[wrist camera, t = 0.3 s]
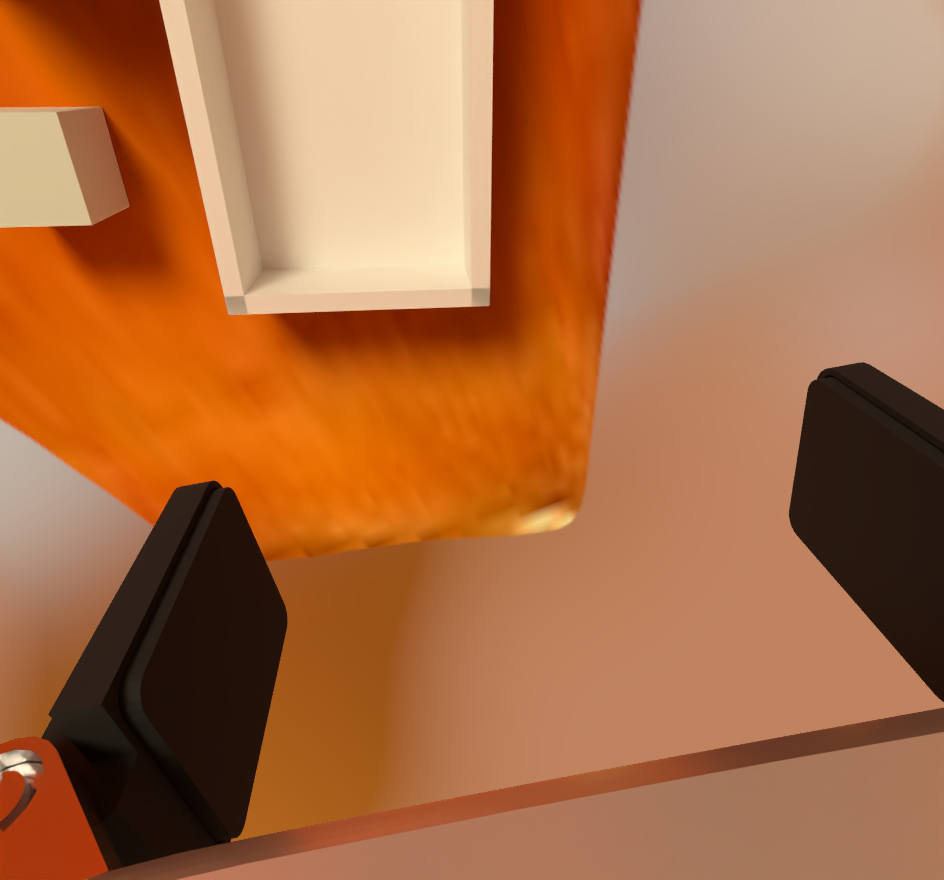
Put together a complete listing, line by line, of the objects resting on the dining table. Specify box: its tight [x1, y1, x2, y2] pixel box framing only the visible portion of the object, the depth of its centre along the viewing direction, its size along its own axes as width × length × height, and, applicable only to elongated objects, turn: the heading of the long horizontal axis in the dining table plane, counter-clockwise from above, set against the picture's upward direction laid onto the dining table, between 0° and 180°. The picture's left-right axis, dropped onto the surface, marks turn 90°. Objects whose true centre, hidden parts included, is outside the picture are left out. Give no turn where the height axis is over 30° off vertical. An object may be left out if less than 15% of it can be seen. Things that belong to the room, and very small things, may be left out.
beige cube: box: [0, 107, 130, 227], centre depth 31 cm, size 5×5×5 cm
